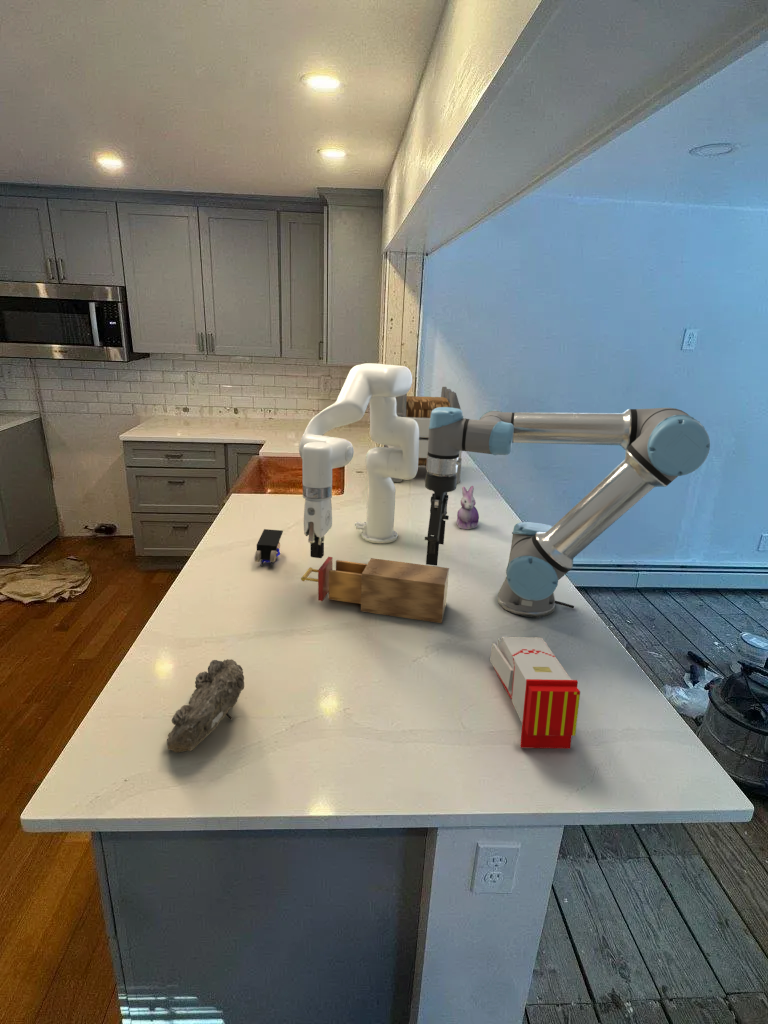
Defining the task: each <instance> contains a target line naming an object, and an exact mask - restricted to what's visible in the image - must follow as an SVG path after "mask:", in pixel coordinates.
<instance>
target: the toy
mask: <svg viewBox="0 0 768 1024" xmlns="http://www.w3.org/2000/svg"><path fill="white" fill-rule="evenodd" d="M489 658H490V659H489V662H490V663H491V665H492V666H493V669H494V671H495V673H496V675H497V677H498V679H499V680H500V682H501V684H502V686H503V687H504V689H505V691H506V693H507V695H508V697H509V699H510V700H511V703H512V705H513V707H514V709H515V712H516V713H517V716H518V718H519V720H520V722H521V735H520V748H521V749H571V746H572V745H571V744H572V737H574V736H575V737H576V733H577V732H576V731H577V723H578V715H579V705H580V697H581V691H580V688H578V683H579V681H578V680H577V679H572V678H571V677H570V675H569V674H568V673H567V671H566V670H565V668H564V667H563V665H562V664H561V662H560V661H559V660H558V659H557V657H556V656H555V654H554V652H553V651H552V650H551V648H550V647H549V645H548V643H547V642H545V640H544V639H543V637H540V636H539V637H536V636H535V637H534V636H526V637H525V636H501V638H500V637H498V638H497V643H496V642H492V643H491V649H490V657H489Z"/></svg>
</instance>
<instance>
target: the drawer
mask: <svg viewBox="0 0 768 1024" xmlns="http://www.w3.org/2000/svg"><path fill="white" fill-rule="evenodd" d="M333 559H334V558H333V556H328V557H327V558H326V559H325V560H324V562H323V563H322V564H321V565H320V567H319V568H318V569H315V568H313V567H311V566H310V567H308V569H307V570H306V571H305V572H304V573H303V575H302V576H301V578H300V580H301V581H302V582H306V581H309V582H316V583H317V601H318V602H323V601H324V600H325V598H326V597H327V595H328V600H331V601H338V602H343V603H352V604H359V605H361V585H362V572H363V571H364V569H365V567H366V566H367V564H368V563H362V562H354V561H348V560H339V559H337V560H336V561H335V569H333V562H334V561H333ZM312 573H317V578H313V577H309V576H310V575H311V574H312Z"/></svg>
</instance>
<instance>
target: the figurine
mask: <svg viewBox="0 0 768 1024" xmlns="http://www.w3.org/2000/svg"><path fill="white" fill-rule="evenodd" d="M474 489H475V487H474V485H471V486H470V487H469V489H468V490H467V488H466V487H465V486H461V493H462V497H461V500H460V506H461V508H459V509H458V510H457V513H456V517H457V518H456V522H455V523H456V526H458V528H459V529H463V530H470V529H475V528H477V526H478V524H479V520H480V515H479V511H478V509H477V507H476V503H477V502H476V499H475V496H474Z"/></svg>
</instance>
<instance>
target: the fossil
mask: <svg viewBox="0 0 768 1024" xmlns="http://www.w3.org/2000/svg"><path fill="white" fill-rule="evenodd" d="M243 670H244V669H243V667H242V665H240V664H237V662H236V661H235V660H234V659H232V658H231V659H227V658H226V659H224V660H223V661H222V660H217V659H212V660H211V661H210V663H209V665H208V666H207V671H201V672H199V673H198V674H197V675H196V676H195V680H194V684H195V685H194V687H195V689H194V690H193V693H192V694H191V697H190V698H189V700H188V704H184V705H182V706H181V707H180V709H177V710H176V711H175V713H174V715H173V716H172V718H171V723H172V724H173V727H172V730H171V731H170V732H168V734H167V738H166V741H167V742H166V745H167V749H168V750H169V751H173V752H174V753H176V754H178V753H182V752H188V751H189V752H192V751H193V750H195V748H196V747H197V746H199V744H200V743H201V742H203V741H204V740H205V739H206V738H207V737H208V736H209V735H210V734H211V733H212V732H214V730H215V729H217V727H218V726H219V724H220V722H221V721H222V720H223V719H224V718H225V716H226V717H227V719H229V720H233V717H232V715H230V714H229V710H230V709H231V708H234V706H235V704H236V703H237V702H238V699H239V697H240V695H241V693H242V691H243V690H245V689H244V688H245V675H244V671H243Z"/></svg>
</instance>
